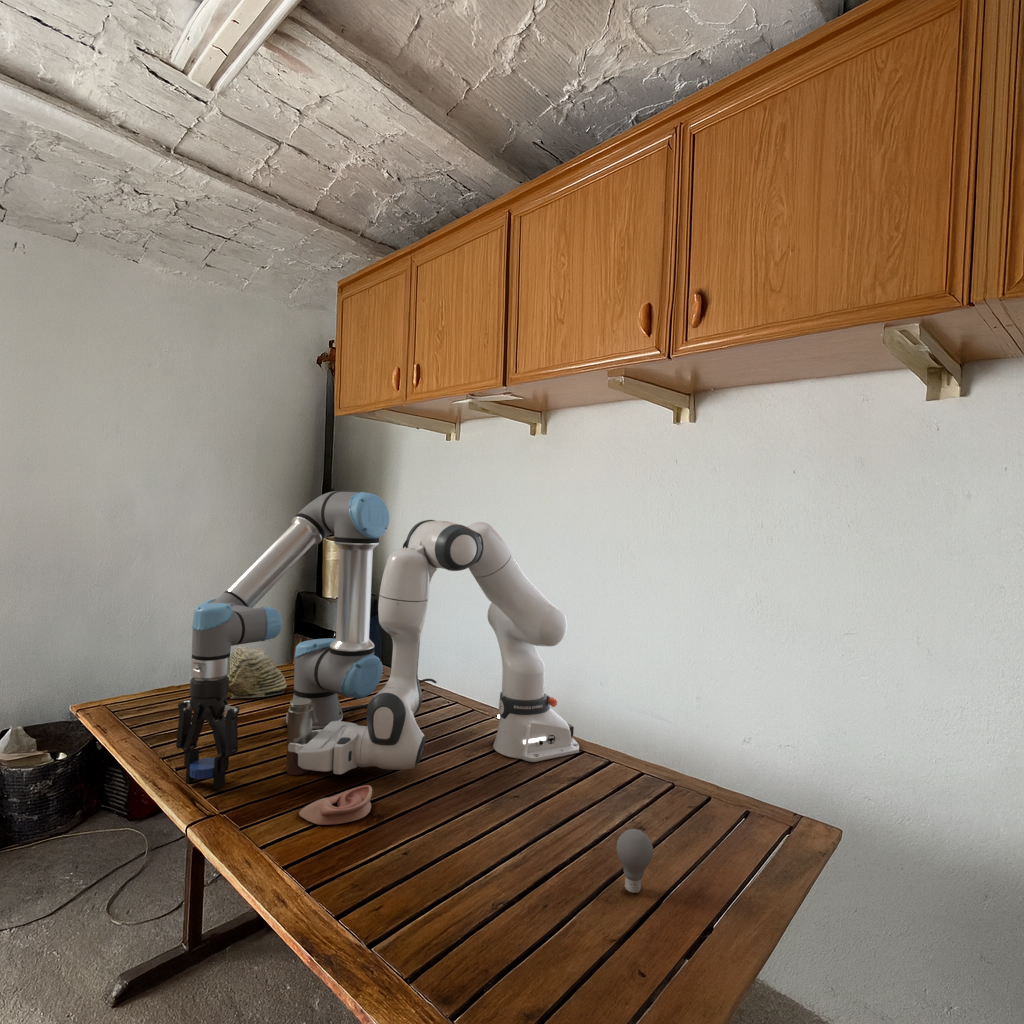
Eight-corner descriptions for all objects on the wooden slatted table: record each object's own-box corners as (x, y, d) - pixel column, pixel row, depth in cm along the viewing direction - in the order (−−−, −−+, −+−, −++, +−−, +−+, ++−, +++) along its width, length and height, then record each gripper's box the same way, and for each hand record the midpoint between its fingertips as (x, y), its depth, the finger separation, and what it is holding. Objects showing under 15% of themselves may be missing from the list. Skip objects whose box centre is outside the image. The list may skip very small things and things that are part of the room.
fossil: (218, 695, 195) (220, 647, 195) (278, 685, 208) (279, 640, 207) (228, 703, 189) (230, 653, 188) (289, 692, 201) (290, 645, 201)
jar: (302, 763, 150) (304, 696, 150) (315, 770, 147) (318, 701, 146) (281, 770, 146) (283, 701, 145) (294, 777, 142) (297, 706, 142)
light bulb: (610, 879, 108) (613, 822, 108) (644, 879, 109) (647, 822, 109) (619, 902, 102) (622, 840, 102) (655, 901, 103) (658, 840, 103)
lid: (184, 772, 135) (184, 763, 135) (213, 764, 140) (213, 755, 140) (197, 782, 131) (197, 772, 131) (226, 773, 136) (227, 763, 136)
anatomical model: (291, 800, 123) (320, 775, 134) (290, 820, 123) (320, 794, 134) (354, 810, 120) (379, 784, 132) (353, 830, 121) (378, 803, 132)
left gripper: (159, 675, 134) (154, 784, 135) (237, 686, 130) (232, 798, 130) (185, 667, 142) (180, 770, 142) (260, 677, 137) (255, 783, 137)
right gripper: (368, 716, 155) (314, 712, 156) (338, 749, 135) (276, 743, 136) (367, 742, 155) (313, 737, 156) (337, 778, 135) (275, 772, 136)
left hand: (205, 783), depth 136 cm, fingers closed on lid, 6 cm apart
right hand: (295, 740), depth 146 cm, fingers closed on jar, 5 cm apart
